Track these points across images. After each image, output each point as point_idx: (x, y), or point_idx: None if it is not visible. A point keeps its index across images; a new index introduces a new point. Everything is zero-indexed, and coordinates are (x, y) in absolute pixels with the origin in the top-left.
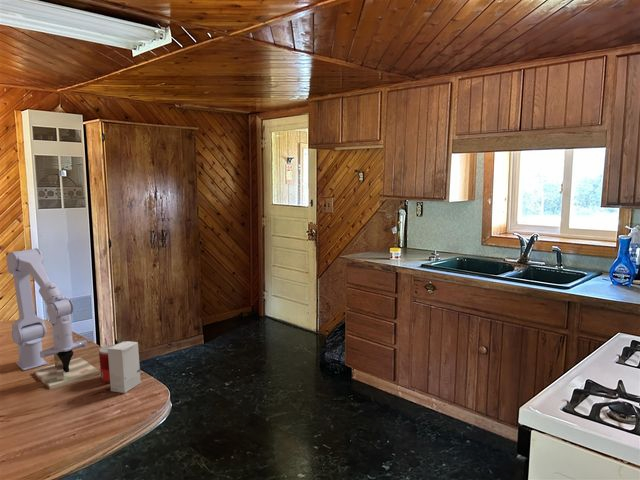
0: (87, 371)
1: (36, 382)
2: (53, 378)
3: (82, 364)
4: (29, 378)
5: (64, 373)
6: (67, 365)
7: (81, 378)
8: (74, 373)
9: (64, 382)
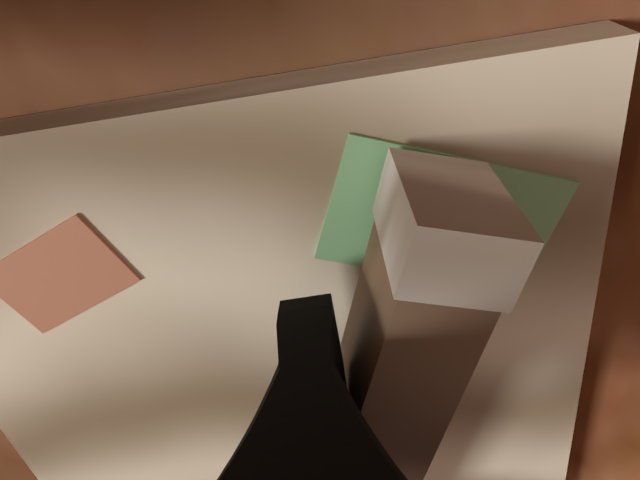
0: (19, 250)
1: (616, 342)
2: None
3: (102, 469)
4: (614, 451)
5: None
6: (300, 376)
7: (122, 106)
8: (208, 287)
9: (393, 67)
